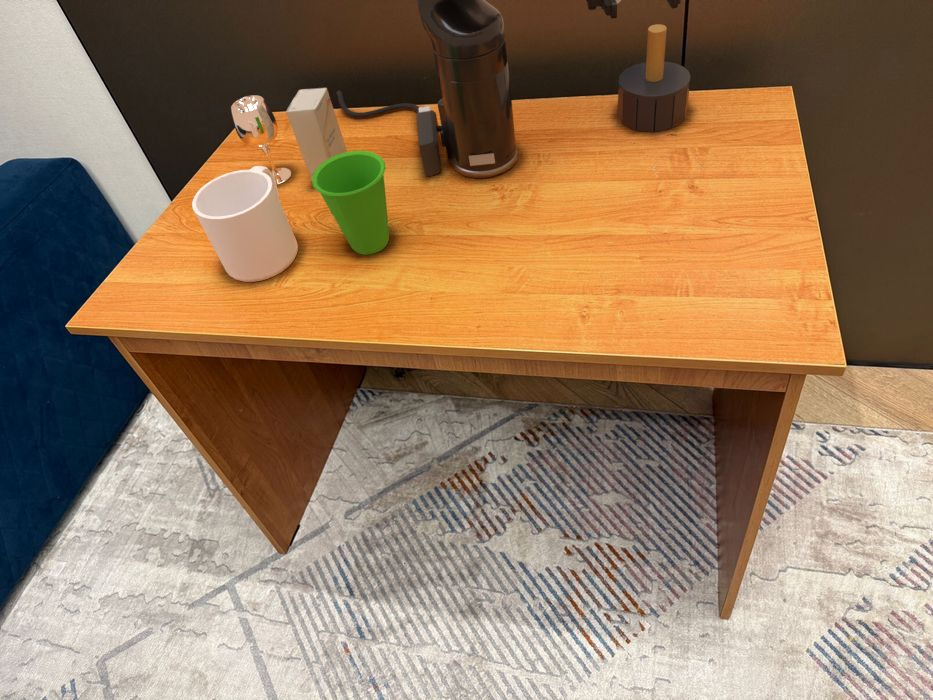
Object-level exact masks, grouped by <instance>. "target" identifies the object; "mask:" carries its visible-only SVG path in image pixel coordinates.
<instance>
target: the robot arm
mask: <svg viewBox="0 0 933 700" xmlns="http://www.w3.org/2000/svg"><path fill="white" fill-rule="evenodd" d="M620 2H622V0H585V3H586V6H587V10H588V11H594V10H597V7H599V8H600V9H601V10H603V12H604V14H605V16H607V17H608V16H609V17H610V18H611V20H613V19H617V18H618V4H619V3H620ZM666 2H667V3H668V5H669V6H670V8H671V9H677V8H678V7H679V5H680V4H681V2H682V0H666ZM416 4H417V8H418V12H419V16H420V21H421V23H422V26H423V28H424V30H425V31H426V34H427V35H428V36H429V39H430V40H431V45H432V46H431V47H432V51H433V56H434V62H435V67H436V74H437V78H438V79H437V80H438V83H439V89H440V94H441V99H439V101H438V102H437V109H438V115H439V120H440V125H438V126H436V128H437V131H439V136H440V137H439V138H440V141H441V146H442V147H443V148H445V152H446V157H447V162H448V163H447V164H450V165H453V168H454V170H455V171H456V172H457V173H458V174H460V175H462V176H463V177H468V178H474V179H485V178H492V177H495V176H498V175H501V174H503V173H505V172H507V171H509V170H510V169H511V168H512V167H514V165H515V164H516V162H517V161H518V156H519V155H518V146H517V140H516V131H515V129H516V128H515V119H514V111H513V100H512V92H511V82H510V80H511V79H510V71H509V62H508V53H507V43H506V33H505V24H504V23H505V22H504V19H503V18H504V17H503V16H502V13H501V12H500V11H499V10H498V9H497V8H496V7H495V6H493V5H492V4H491V3H489V2H488V1H487V0H416ZM335 98H337V100H338V103H339V106H340V109H341V110H342V111H343V113H344V114H345V115H347V116H348V117H351V118H356V119H363V118H364V119H365V118H370V117H374V116H378V115H382V114H385V113H389V112H392V111H396V110H412V111H415V112H416V114H417V113H419V108H420V107H421V106H419V105H417V104H414V103H408V102H405V103H404V102H402V103H397V104H391V105H388V106H383V107H380V108H377V109H374V110H369V111H363V112H362V111H361V112H358V111H353V110H350V109H349V108H348V107H347V105H346V103H345V99H344V95H343V92H342V90H337V91H336V93H335Z"/></svg>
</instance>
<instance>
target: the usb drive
mask: <svg viewBox="0 0 933 700" xmlns="http://www.w3.org/2000/svg"><path fill="white" fill-rule="evenodd" d="M419 107H420V108H419V113H417V112H416V126H417V127H416V128H417V136H418V137H417V138H418V147H419V152H420V156H421V161H422V167H423V172H424V175H425V177H427V178H428V177H432V176H436V175H439V174H440V171H441V170H442V159H441V158H442V157H441V150H440V149H441V148H440V140H439V138H440V137H439V136H440V131H437V128H436V126H439V123H438V117H437V112H436V111H434V110H432V109H431V106H430V105H426V106H422V107H421V106H419Z"/></svg>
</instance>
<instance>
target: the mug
mask: <svg viewBox="0 0 933 700" xmlns="http://www.w3.org/2000/svg"><path fill="white" fill-rule="evenodd" d="M270 171H271V170H270V169H269V168H268V167H266V166H264V165H254V166H252V167H251V168H250V169H240V170H234V171H230V172H227V173H224V174H222V175H219V176H217V177H215V178H213V179H211V180H210V181H209V182H207V183H205V184H204V185H203V186H201V188H200V189H198V191H197V192H196V194H195V195H194V196H193V199H192V203H191V205H192V210H193V212H194V214H195V216H196V218H197V220H198V221H199V223H200V225H201V227H202V229H203V231H204V233H205V235H206V237H207V239H208V240H209V242H210V244H211V247H212V248H213V250H214V251H215V254H216V255H217V257H218V259H219V261H220V263H221V265H222V267H223V269H224V270H225V272H226V273H227V274H228V276H229V277H231V278H232V279H234V280H236V281H241V282H245V283H254V282H259V281H260V282H261V281H266V280H268V279H270V278H273V277H275V276H277V275H279V274H280V273H282V272H283V271H285V270H286V269H287V268H289V267H290V265H291V264H293V262H294V261H295V260H296V259H295V258H296V257H297V254H298V251H299V244H298V241H297V239H296V236H295V234H294V231H293V228H292V227H291V224H290V221H289V219H288V216H287V215H286V212H285V210H284V207H283V204H282V202H281V197H280V193H279V189H278V185H276V182H275V179H274V177H273V175H272V173H271V172H270Z"/></svg>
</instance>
